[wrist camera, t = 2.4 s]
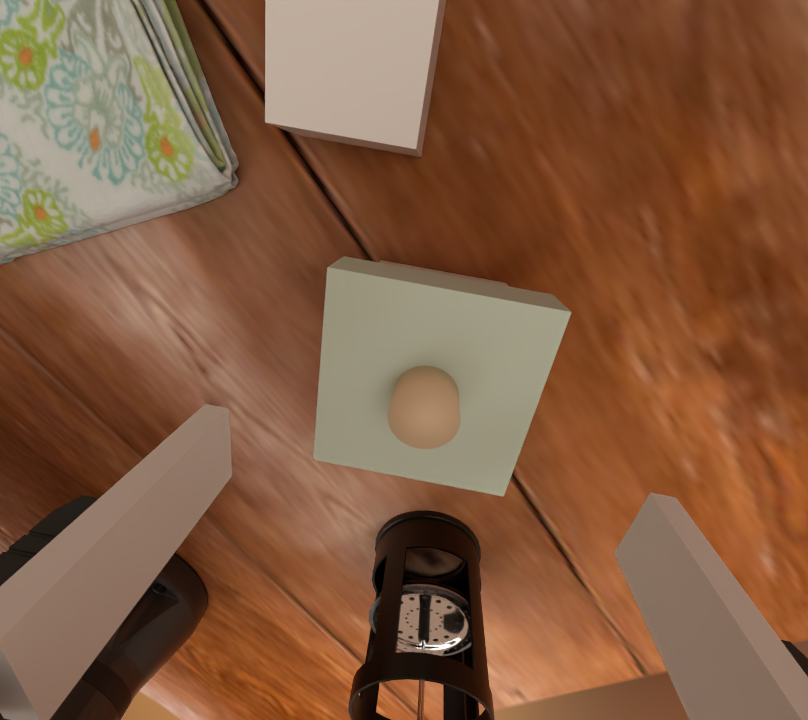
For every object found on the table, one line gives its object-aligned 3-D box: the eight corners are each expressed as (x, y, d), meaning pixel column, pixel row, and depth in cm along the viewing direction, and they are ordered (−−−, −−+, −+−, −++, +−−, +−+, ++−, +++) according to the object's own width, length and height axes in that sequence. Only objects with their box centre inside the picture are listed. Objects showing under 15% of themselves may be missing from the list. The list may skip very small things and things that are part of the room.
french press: (351, 528, 34) (202, 1080, 13) (441, 490, 31) (440, 1117, 10) (420, 605, 37) (393, 1137, 16) (507, 577, 34) (608, 1175, 13)
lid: (328, 428, 22) (299, 487, 18) (343, 256, 18) (311, 277, 13) (496, 460, 22) (509, 528, 17) (552, 294, 18) (589, 328, 13)
